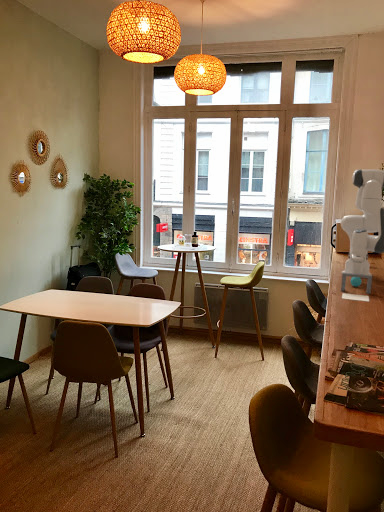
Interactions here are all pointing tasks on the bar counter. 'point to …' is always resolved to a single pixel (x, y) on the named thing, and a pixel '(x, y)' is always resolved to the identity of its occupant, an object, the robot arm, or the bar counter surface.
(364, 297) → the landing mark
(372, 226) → the robot arm
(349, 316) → the bar counter surface
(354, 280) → the ball
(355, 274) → the bridge
